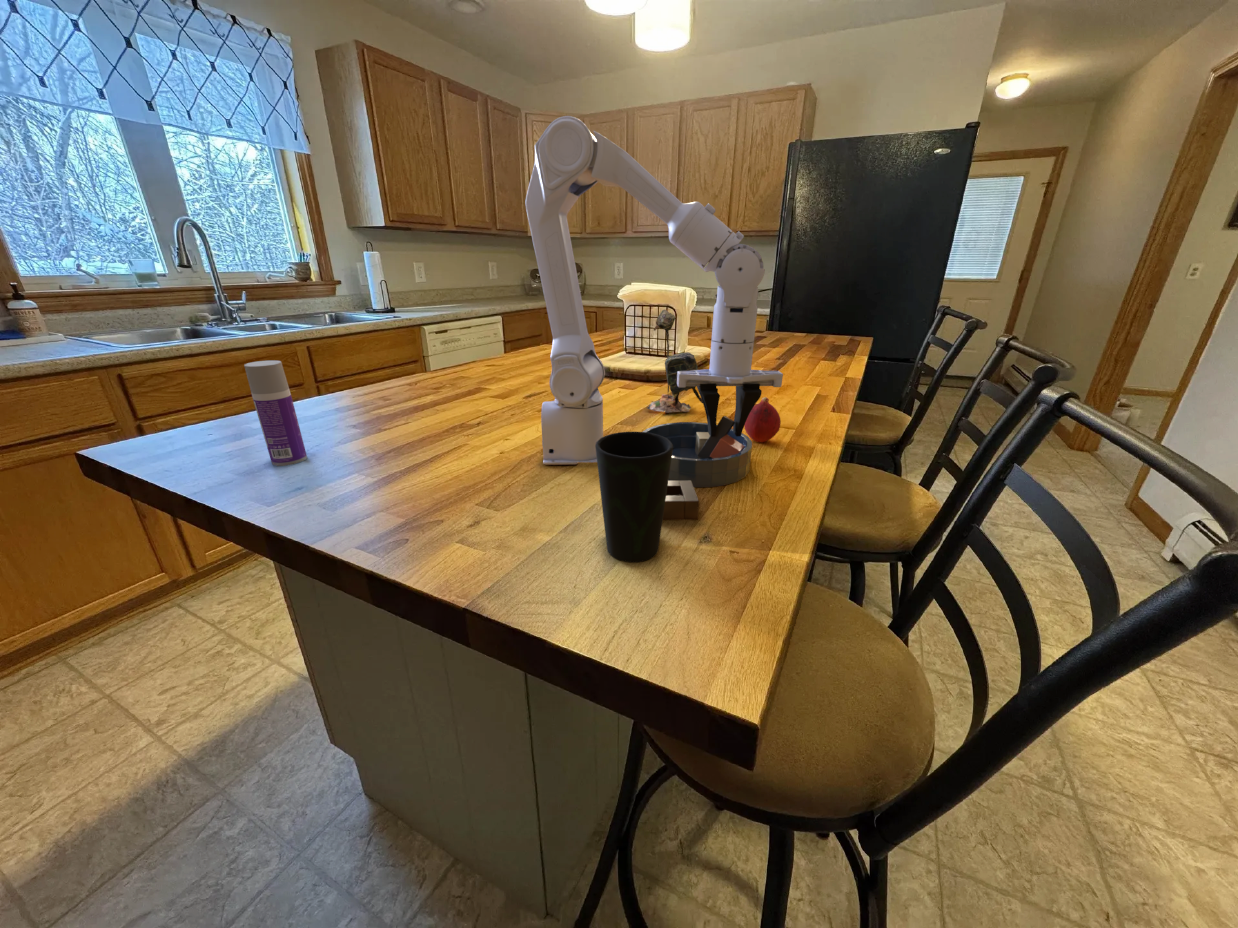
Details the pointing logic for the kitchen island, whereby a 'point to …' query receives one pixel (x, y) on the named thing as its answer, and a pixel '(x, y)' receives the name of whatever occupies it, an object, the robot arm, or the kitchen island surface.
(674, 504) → the holder
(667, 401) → the plant with pod
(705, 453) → the long dark block
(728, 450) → the terracotta block
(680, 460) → the bowl
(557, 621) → the kitchen island surface
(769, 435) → the onion
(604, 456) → the cup
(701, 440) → the cream block
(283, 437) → the container
